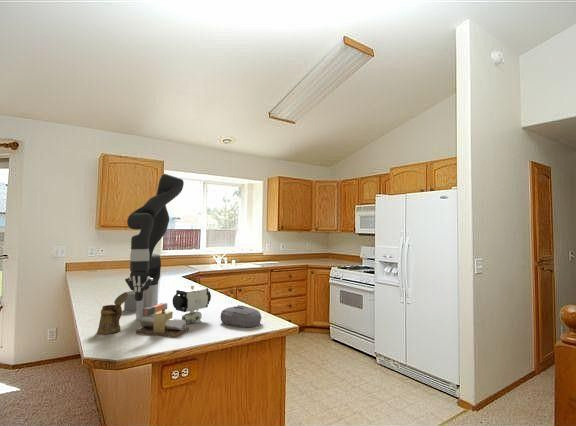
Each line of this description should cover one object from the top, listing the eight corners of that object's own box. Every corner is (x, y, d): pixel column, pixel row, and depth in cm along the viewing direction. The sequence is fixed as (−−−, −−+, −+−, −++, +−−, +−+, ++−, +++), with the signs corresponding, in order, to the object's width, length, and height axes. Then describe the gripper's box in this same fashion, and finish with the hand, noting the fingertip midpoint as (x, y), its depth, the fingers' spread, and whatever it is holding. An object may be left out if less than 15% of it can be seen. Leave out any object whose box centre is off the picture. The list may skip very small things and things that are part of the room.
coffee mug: (132, 312, 182) (133, 294, 182) (120, 310, 186) (120, 292, 186) (151, 307, 194) (152, 290, 194) (139, 306, 198) (140, 289, 199)
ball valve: (181, 327, 153) (182, 289, 154) (171, 324, 158) (172, 287, 159) (212, 319, 167) (213, 284, 168) (202, 317, 172) (202, 282, 173)
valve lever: (162, 308, 149) (162, 302, 149) (168, 308, 148) (168, 302, 148) (141, 315, 136) (142, 308, 136) (148, 316, 135) (148, 309, 135)
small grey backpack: (216, 324, 160) (248, 330, 149) (216, 306, 160) (249, 312, 150) (236, 317, 172) (268, 323, 162) (237, 301, 173) (268, 306, 162)
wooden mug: (115, 337, 139) (116, 293, 140) (92, 333, 144) (94, 291, 145) (132, 331, 147) (133, 290, 148) (109, 328, 152) (111, 288, 153)
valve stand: (135, 333, 144) (136, 310, 145) (150, 327, 154) (151, 306, 154) (175, 337, 139) (176, 313, 139) (188, 330, 148) (189, 308, 149)
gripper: (120, 260, 139) (119, 302, 138) (147, 260, 136) (146, 303, 135) (132, 259, 146) (131, 298, 145) (158, 259, 143) (158, 299, 142)
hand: (139, 300), depth 140 cm, fingers closed
